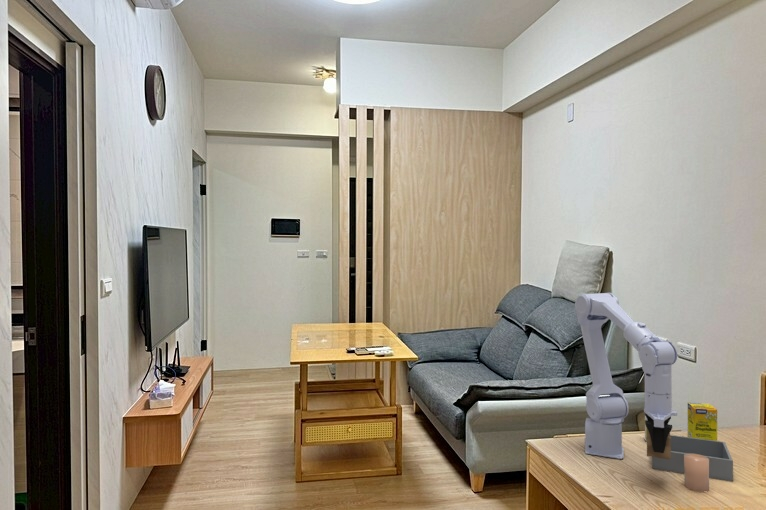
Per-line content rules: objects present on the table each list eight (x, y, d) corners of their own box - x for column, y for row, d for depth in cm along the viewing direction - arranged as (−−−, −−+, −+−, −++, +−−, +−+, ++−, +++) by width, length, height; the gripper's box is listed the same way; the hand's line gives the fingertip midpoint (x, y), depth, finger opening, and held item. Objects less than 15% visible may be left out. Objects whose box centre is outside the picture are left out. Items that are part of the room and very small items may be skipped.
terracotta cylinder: (685, 489, 120) (684, 459, 120) (683, 480, 125) (683, 452, 125) (710, 493, 118) (710, 463, 118) (707, 484, 123) (707, 455, 122)
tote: (652, 468, 132) (652, 449, 132) (651, 450, 143) (651, 432, 143) (733, 481, 124) (732, 460, 124) (725, 460, 136) (724, 441, 136)
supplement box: (694, 446, 146) (694, 408, 145) (687, 439, 151) (686, 402, 151) (718, 448, 144) (717, 409, 144) (709, 440, 150) (709, 403, 150)
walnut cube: (646, 456, 123) (646, 435, 123) (646, 448, 127) (646, 428, 127) (670, 459, 121) (670, 438, 120) (669, 452, 125) (669, 431, 125)
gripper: (679, 401, 115) (679, 462, 116) (675, 385, 128) (675, 440, 129) (643, 398, 119) (644, 456, 119) (643, 382, 132) (644, 435, 132)
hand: (658, 447), depth 124 cm, fingers closed on walnut cube, 5 cm apart
